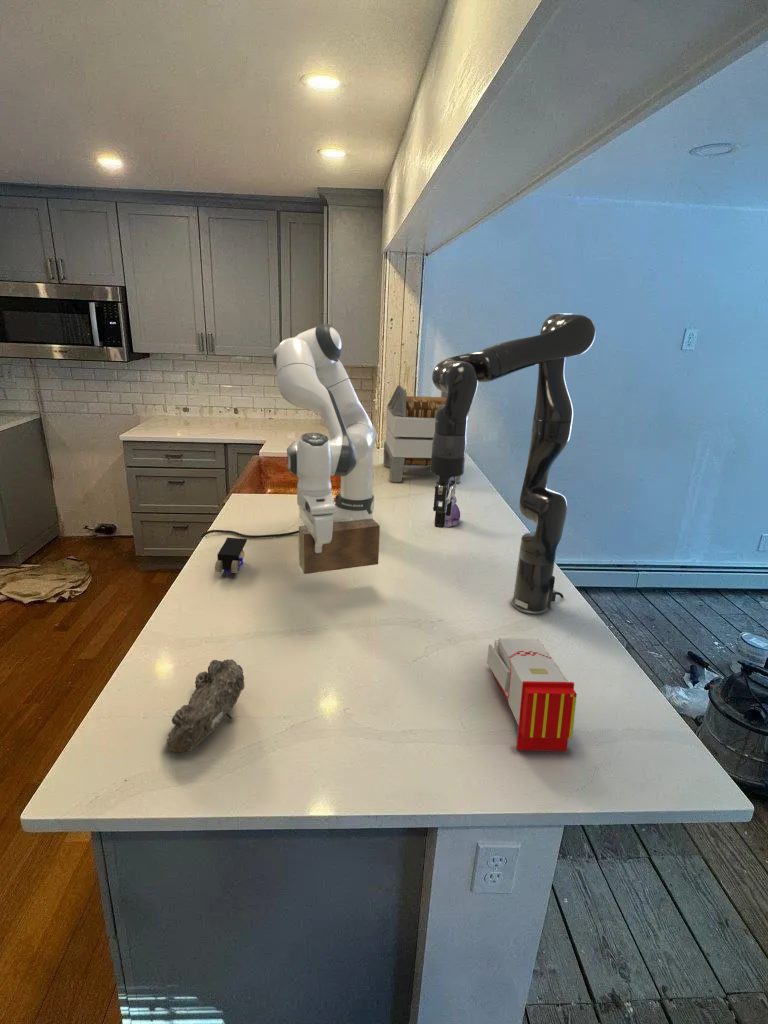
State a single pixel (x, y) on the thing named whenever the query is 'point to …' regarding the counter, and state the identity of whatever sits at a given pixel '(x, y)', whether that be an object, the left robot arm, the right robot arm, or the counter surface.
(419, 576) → the counter surface
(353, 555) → the box
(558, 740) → the toy
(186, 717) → the fossil
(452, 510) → the figurine
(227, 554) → the black wheeled rover
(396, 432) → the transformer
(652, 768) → the counter surface
